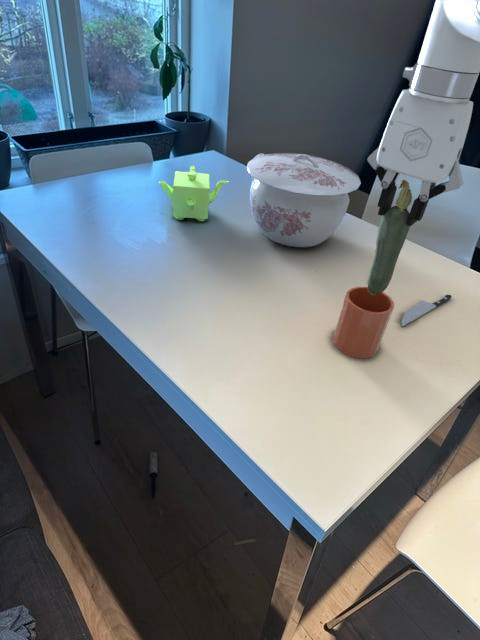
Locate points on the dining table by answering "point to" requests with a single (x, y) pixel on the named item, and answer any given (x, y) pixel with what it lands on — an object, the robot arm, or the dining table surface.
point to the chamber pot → (299, 197)
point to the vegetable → (390, 241)
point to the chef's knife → (421, 310)
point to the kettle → (191, 194)
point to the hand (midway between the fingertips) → (397, 216)
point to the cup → (362, 322)
